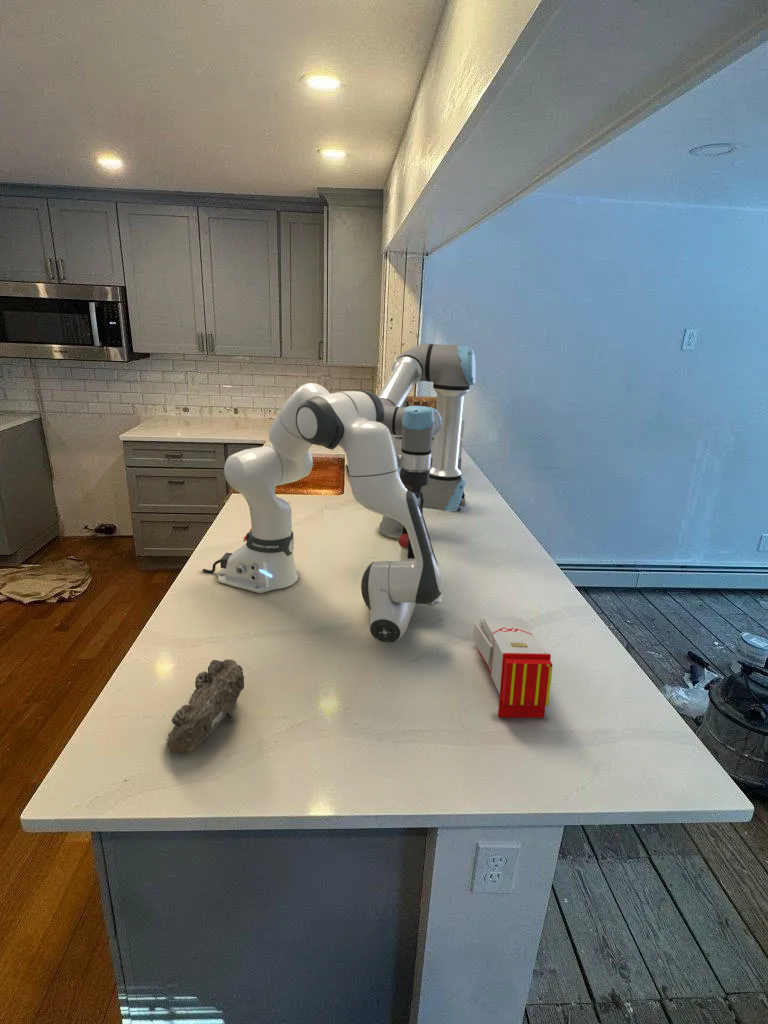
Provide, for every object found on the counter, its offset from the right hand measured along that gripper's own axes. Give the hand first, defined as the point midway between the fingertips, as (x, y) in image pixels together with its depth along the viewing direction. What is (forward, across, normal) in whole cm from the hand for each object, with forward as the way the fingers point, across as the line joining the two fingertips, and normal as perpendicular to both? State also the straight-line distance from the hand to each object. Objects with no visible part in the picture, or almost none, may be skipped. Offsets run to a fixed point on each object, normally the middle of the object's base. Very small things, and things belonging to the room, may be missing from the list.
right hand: (409, 551), depth 151 cm
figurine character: (+14, -75, +33) cm, 83 cm away
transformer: (+14, -124, +28) cm, 128 cm away
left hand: (+8, -1, 0) cm, 8 cm away
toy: (+14, +36, +15) cm, 42 cm away
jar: (+14, 0, 0) cm, 14 cm away
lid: (-3, 0, 0) cm, 3 cm away
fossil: (+14, +44, -46) cm, 65 cm away
